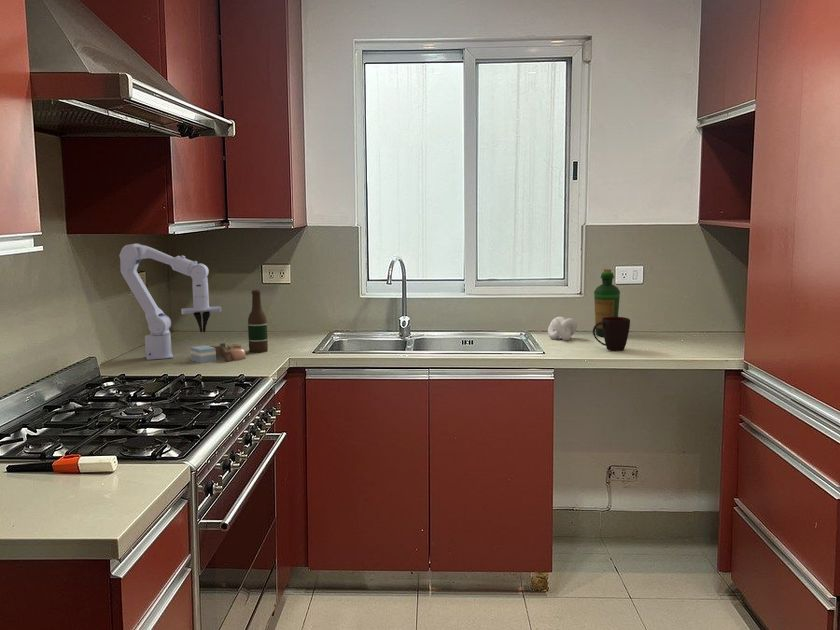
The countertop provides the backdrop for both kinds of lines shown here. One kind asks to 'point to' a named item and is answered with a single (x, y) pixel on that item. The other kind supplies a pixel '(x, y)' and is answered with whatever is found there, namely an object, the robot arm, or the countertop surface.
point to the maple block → (233, 346)
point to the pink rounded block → (237, 354)
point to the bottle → (606, 300)
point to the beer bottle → (257, 326)
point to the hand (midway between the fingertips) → (202, 331)
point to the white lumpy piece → (562, 328)
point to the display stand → (223, 352)
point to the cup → (614, 332)
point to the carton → (203, 354)
